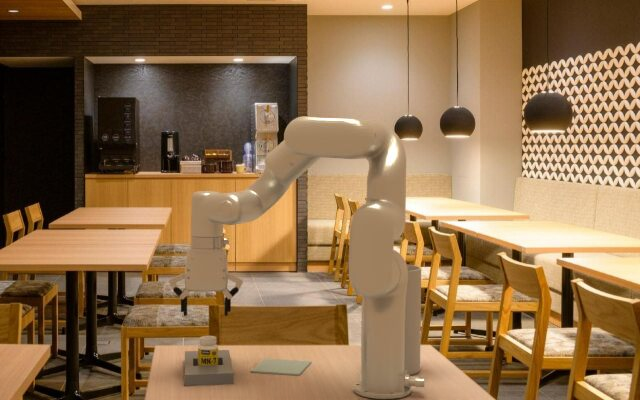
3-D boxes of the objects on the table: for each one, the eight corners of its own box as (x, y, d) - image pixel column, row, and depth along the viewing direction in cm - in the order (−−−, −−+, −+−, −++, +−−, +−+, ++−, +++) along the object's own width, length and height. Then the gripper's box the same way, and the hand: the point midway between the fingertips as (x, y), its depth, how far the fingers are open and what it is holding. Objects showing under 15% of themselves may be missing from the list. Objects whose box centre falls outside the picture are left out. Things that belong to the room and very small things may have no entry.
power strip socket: (184, 361, 212) (184, 348, 212) (228, 359, 214) (228, 347, 214) (184, 385, 191) (184, 372, 190) (233, 383, 192) (233, 370, 192)
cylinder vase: (368, 377, 198) (369, 271, 197) (367, 363, 211) (368, 263, 209) (422, 377, 198) (423, 271, 196) (417, 364, 210) (418, 264, 209)
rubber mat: (311, 362, 211) (311, 361, 211) (299, 375, 199) (299, 374, 199) (265, 360, 214) (265, 358, 214) (250, 372, 202) (250, 370, 202)
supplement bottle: (199, 375, 199) (199, 340, 199) (196, 370, 204) (196, 335, 203) (219, 374, 201) (219, 338, 200) (216, 368, 205) (216, 334, 205)
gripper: (243, 241, 205) (241, 311, 206) (170, 241, 203) (169, 311, 204) (244, 245, 198) (242, 318, 199) (168, 245, 196) (168, 318, 197)
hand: (205, 314), depth 202 cm, fingers open, 9 cm apart
